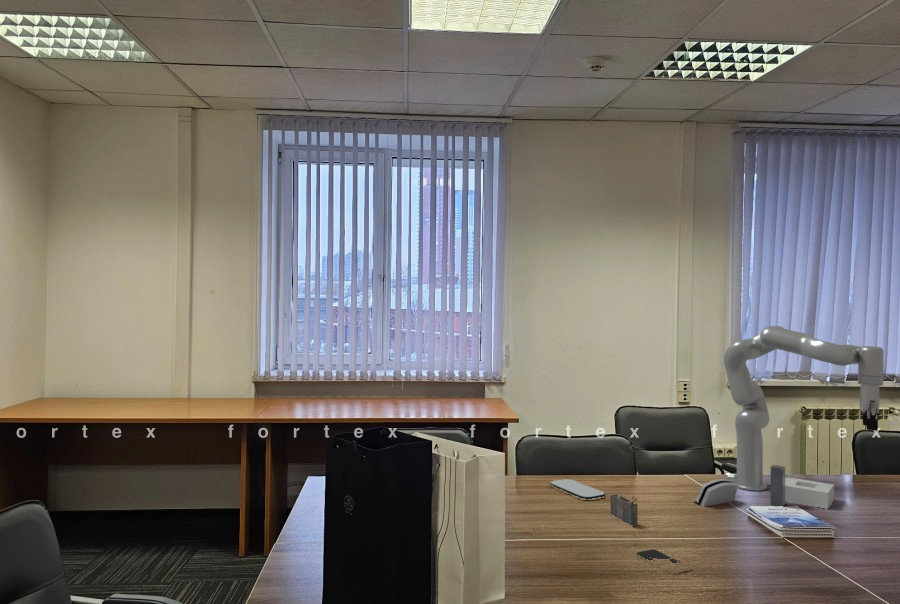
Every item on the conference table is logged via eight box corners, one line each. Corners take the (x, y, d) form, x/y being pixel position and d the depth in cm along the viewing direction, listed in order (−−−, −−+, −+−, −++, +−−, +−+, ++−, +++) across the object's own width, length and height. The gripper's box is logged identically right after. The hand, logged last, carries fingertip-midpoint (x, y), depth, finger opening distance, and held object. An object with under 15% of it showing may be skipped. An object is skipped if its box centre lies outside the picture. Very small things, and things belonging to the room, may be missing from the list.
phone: (673, 573, 163) (634, 552, 177) (673, 576, 163) (634, 555, 177) (693, 568, 166) (654, 548, 180) (693, 571, 166) (654, 551, 180)
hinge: (723, 497, 232) (730, 474, 229) (733, 504, 228) (741, 482, 225) (691, 502, 225) (699, 479, 222) (701, 510, 221) (709, 487, 218)
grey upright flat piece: (638, 526, 201) (638, 497, 201) (630, 527, 200) (631, 498, 200) (617, 515, 211) (618, 488, 211) (610, 516, 210) (610, 488, 210)
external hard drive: (546, 486, 246) (546, 481, 246) (569, 483, 251) (569, 478, 251) (585, 503, 225) (585, 497, 225) (608, 499, 230) (608, 493, 230)
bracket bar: (770, 504, 223) (770, 466, 224) (773, 502, 226) (773, 464, 227) (782, 507, 221) (782, 468, 221) (785, 504, 224) (785, 466, 224)
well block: (778, 500, 229) (778, 484, 229) (786, 492, 240) (786, 476, 240) (827, 509, 219) (827, 492, 219) (833, 500, 229) (833, 484, 229)
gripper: (855, 377, 228) (854, 422, 228) (861, 382, 213) (860, 430, 213) (879, 378, 225) (878, 424, 225) (887, 383, 209) (886, 433, 209)
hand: (869, 427), depth 219 cm, fingers open, 9 cm apart
